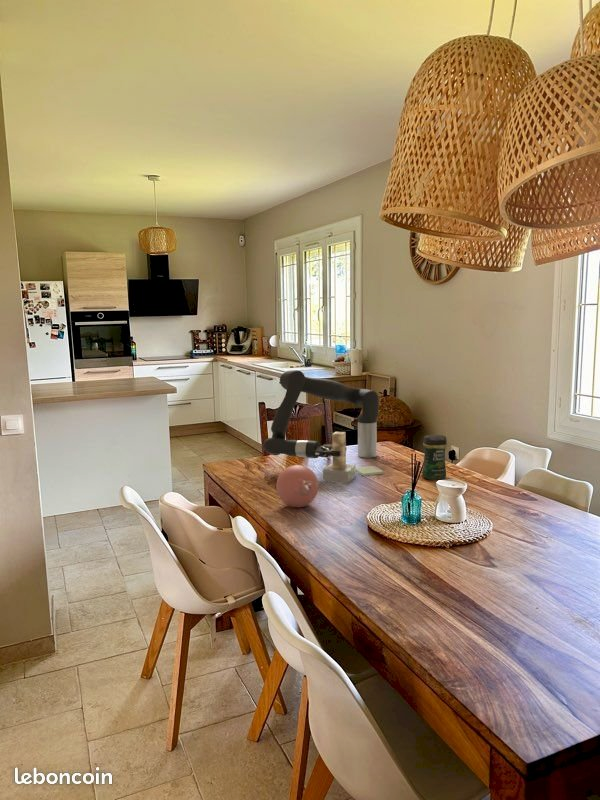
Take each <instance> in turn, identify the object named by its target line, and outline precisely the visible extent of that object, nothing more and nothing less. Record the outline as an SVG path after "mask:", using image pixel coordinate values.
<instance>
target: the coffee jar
mask: <svg viewBox="0 0 600 800" xmlns="http://www.w3.org/2000/svg"><path fill="white" fill-rule="evenodd" d="M447 443H448V442H447V437H446V436H445V435H442V434H431V435H424V437H423V441H422V444H423V445H422V446H423V448H424V455H423V456H424V457H423V465H422V470H421V471H422V472H421V473H422V477H423V478H424V479H427V480H430V481H431V480H432V481H433V479H436V480H445V478H446V477H447V468H446V449H447V446H448V444H447ZM438 478H440V479H438Z"/></svg>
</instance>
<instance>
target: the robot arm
mask: <svg viewBox="0 0 600 800" xmlns="http://www.w3.org/2000/svg"><path fill="white" fill-rule="evenodd" d="M279 383H280V386H281V387H282V388H283V389H284V390H286V392H285V395H284V398H283V399H282V402H281V403H280V405H279V407H278V408H277V410H276V412H275V414H274V417H273V420H272V423H271V426H270V427H271V428H270V431H271V433H272V435H271V437H269V438H267V439H264V442H263V445H262V447H263V449H264V452H266V453H267V454H270V455H272V456H280V455H285V456H286V455H287V456H290V457H291V456H292V457H300V458H307V459H308V458H309V459H318V458H319V457H320V458H327V459H328V458H329V457H330V458H331V457H333V456H337V457H339V456H340V451H333V450H332V443H331V444H330V443H324V444H323V445H321V443H320V442H319V441H318V440H307V439H304V440H303V439H300V440H297V439H286V434H287V433H286V432H287V430H288V428H289V427H288V426H289V423H290V420H291V417H292V414H293V411H294V408H295V406H296V404H297V401H298V399H299V397H300V395H301V393H307V394H309V395H311V396H316V397H318V398H322V399H325V400H329V401H335V402H347V403H350V404H352V405H355V406H358V407H360V408H362V411H361V414H360V415H358V416H357V456H358V457H360V458H365V459H367V458H368V459H369V458H376V457H377V456H378V455H377V442H378V441H377V440H378V439H377V438H378V437H377V436H378V435H377V431H378V430H377V426H378V425H377V419H378V416H379V408H380V407H379V406H380V405H379V404H380V398H379V395H378V392H376V391H375V390H372V389H367V388H358V387H357V388H355V387H352V386H351V387H350V386H348V385H345V384H344V383H341V382H340V381H336V380H332V379H328V378H319V377H308V376H305V374H304V373H303V371H301V370H297V369H292V370H287V371H284V372H283V373H282V374H281V375H280V377H279Z"/></svg>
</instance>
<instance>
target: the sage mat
mask: <svg viewBox="0 0 600 800" xmlns="http://www.w3.org/2000/svg"><path fill="white" fill-rule="evenodd" d="M357 472H358V474H359V475H360V476H362V475H363V476H362V477H364V475H365V476H373V475H383V474H384V470H382V469H380V468H379V467H376V466H375V465H369V466H362V467H361V466H360V467H355V473H357Z"/></svg>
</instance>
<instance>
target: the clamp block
mask: <svg viewBox="0 0 600 800" xmlns="http://www.w3.org/2000/svg"><path fill="white" fill-rule="evenodd" d="M355 468H356V465H355V464H347V463H346V468H345V469H333V462H331V463H330V464H328V465H326V467H324V468H323V469H322V481H323V480H324V481H323V482H330V481H333V482H332V483H340V482H342V484H349V483H350V482H351V481H352V480H353V479H355V477H356V471H355Z"/></svg>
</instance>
